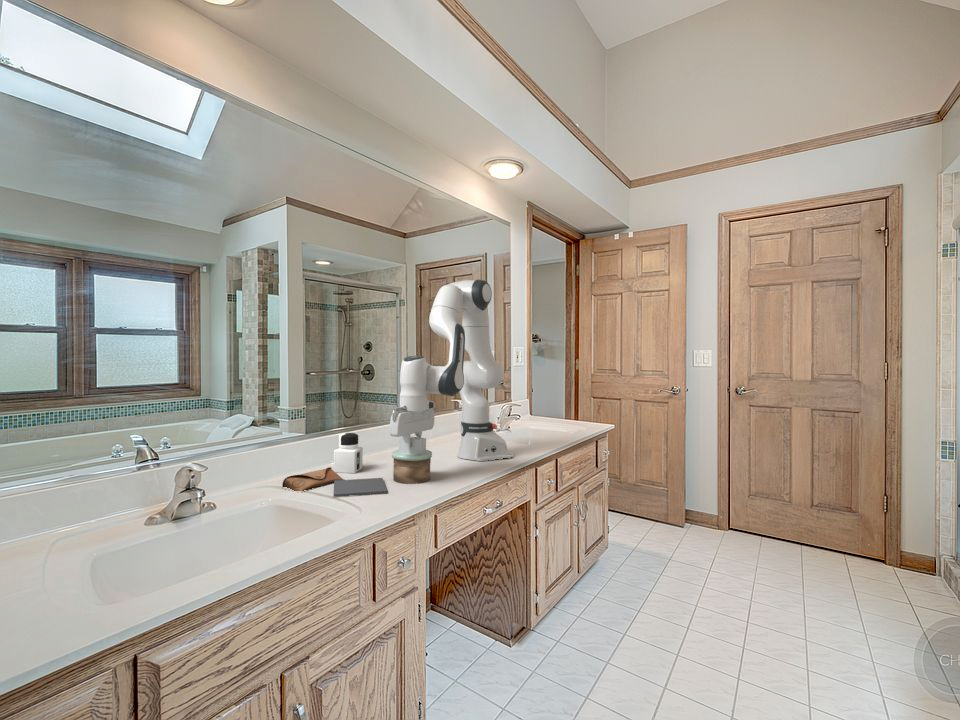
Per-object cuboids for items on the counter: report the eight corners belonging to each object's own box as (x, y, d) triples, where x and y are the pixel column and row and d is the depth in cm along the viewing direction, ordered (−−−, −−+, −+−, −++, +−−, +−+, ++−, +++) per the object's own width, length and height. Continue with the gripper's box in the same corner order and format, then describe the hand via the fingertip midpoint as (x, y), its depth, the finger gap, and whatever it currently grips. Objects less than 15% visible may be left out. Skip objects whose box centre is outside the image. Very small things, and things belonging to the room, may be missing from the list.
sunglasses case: (299, 493, 134) (292, 471, 136) (286, 501, 137) (279, 480, 139) (347, 480, 149) (340, 460, 151) (334, 488, 152) (328, 469, 154)
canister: (426, 473, 159) (426, 451, 159) (433, 482, 148) (433, 459, 148) (391, 475, 156) (391, 453, 156) (395, 484, 144) (395, 461, 144)
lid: (439, 460, 154) (439, 436, 154) (416, 468, 143) (416, 442, 143) (408, 455, 161) (408, 432, 160) (383, 463, 149) (384, 438, 149)
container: (362, 468, 165) (363, 432, 165) (354, 473, 157) (355, 435, 157) (341, 467, 165) (342, 431, 165) (333, 472, 158) (333, 435, 158)
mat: (382, 480, 149) (382, 477, 149) (386, 493, 135) (386, 490, 135) (334, 483, 145) (334, 480, 145) (333, 497, 131) (333, 494, 131)
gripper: (401, 408, 141) (400, 453, 141) (437, 402, 159) (437, 442, 159) (385, 407, 144) (384, 450, 144) (422, 401, 162) (422, 440, 162)
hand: (412, 446), depth 152 cm, fingers closed on lid, 3 cm apart
